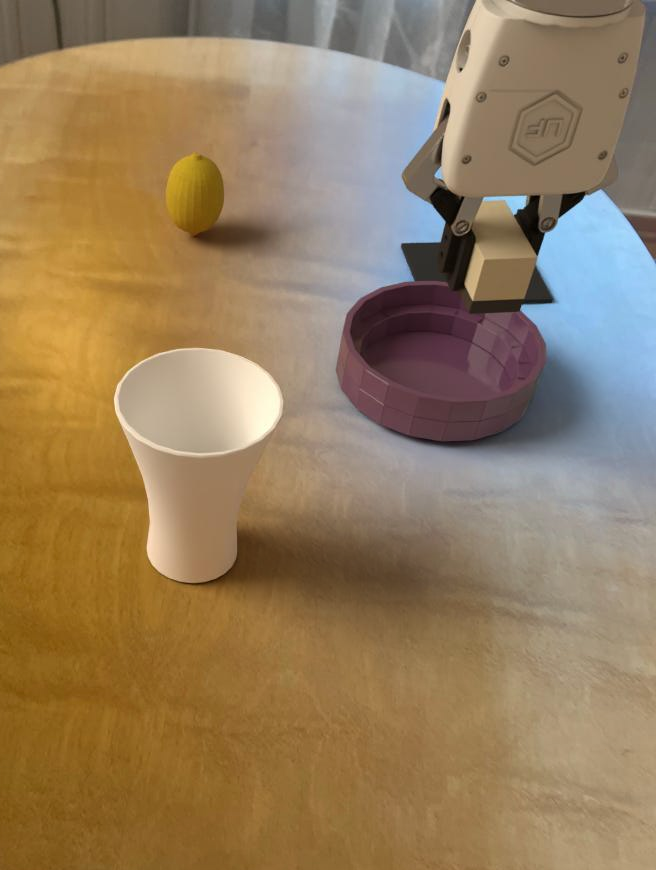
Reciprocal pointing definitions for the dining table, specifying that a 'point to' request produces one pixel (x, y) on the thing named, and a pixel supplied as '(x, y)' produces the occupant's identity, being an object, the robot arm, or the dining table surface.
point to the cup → (196, 451)
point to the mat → (426, 269)
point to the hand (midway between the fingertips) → (481, 275)
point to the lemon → (195, 194)
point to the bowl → (438, 363)
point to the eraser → (497, 262)
